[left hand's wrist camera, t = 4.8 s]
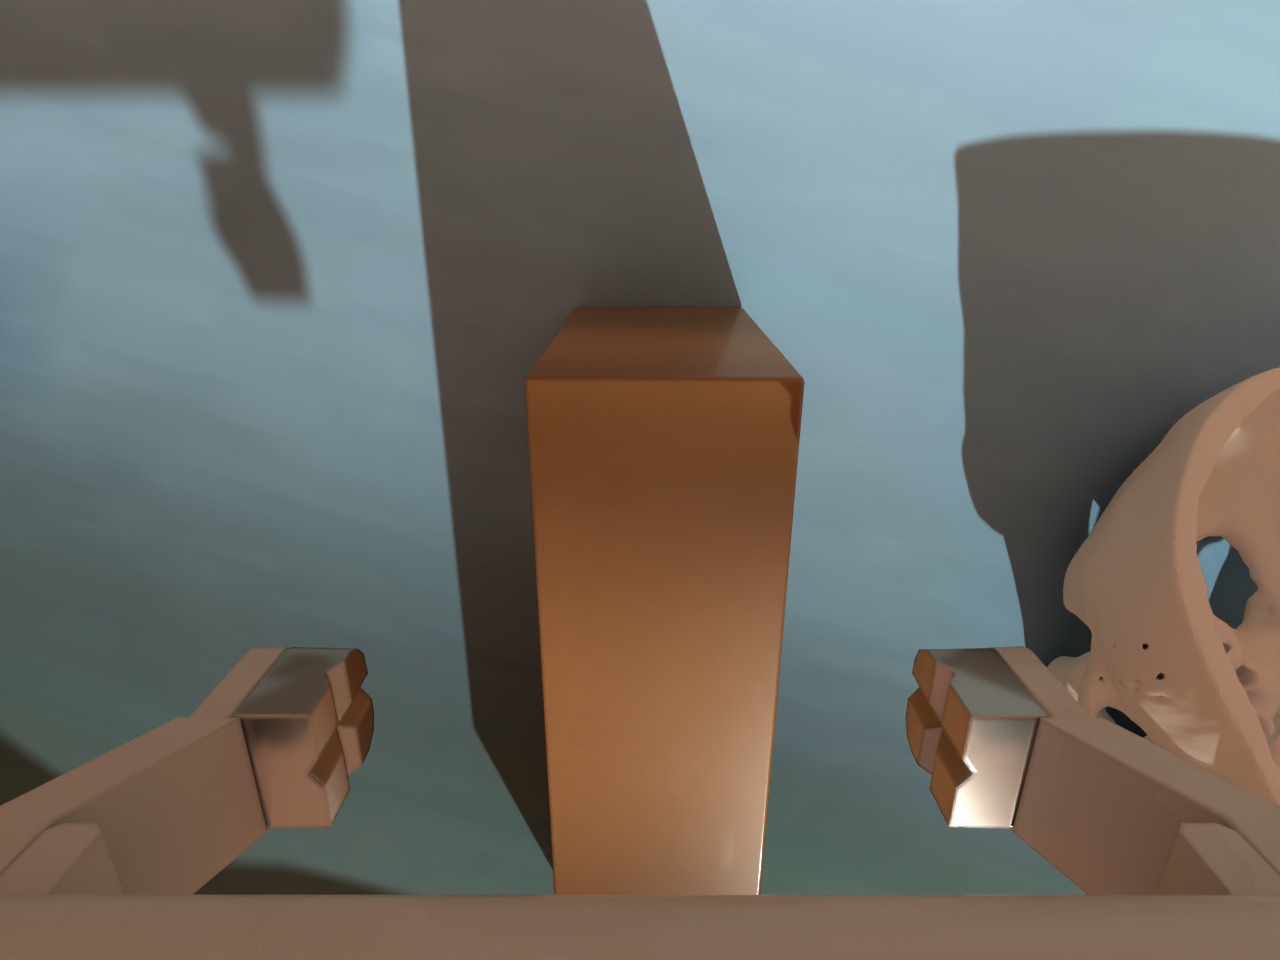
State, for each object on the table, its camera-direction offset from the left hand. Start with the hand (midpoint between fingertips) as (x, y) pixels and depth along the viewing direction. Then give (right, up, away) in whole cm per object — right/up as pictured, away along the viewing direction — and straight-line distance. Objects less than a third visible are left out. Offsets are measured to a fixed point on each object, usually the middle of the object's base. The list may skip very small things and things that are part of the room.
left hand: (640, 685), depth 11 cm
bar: (0, -4, +13) cm, 14 cm away
